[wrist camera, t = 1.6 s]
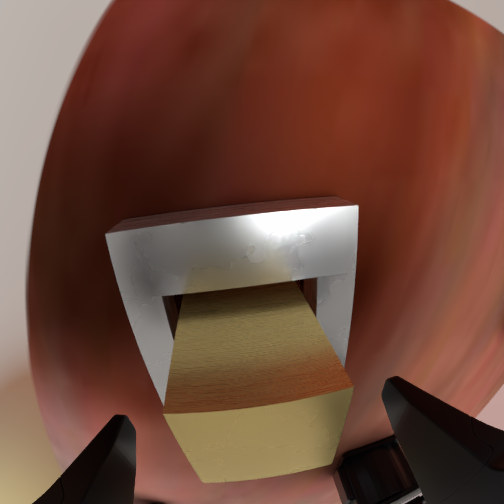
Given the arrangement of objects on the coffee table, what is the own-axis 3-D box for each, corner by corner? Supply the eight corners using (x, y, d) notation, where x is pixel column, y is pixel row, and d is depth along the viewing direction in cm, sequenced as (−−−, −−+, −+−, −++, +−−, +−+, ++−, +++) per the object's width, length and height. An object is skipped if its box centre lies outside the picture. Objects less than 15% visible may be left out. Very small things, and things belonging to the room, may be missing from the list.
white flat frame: (337, 195, 11) (359, 205, 9) (323, 402, 16) (333, 426, 14) (122, 219, 11) (103, 234, 9) (185, 420, 15) (183, 446, 13)
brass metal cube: (289, 271, 12) (354, 386, 6) (291, 350, 14) (331, 464, 8) (185, 283, 12) (163, 413, 6) (203, 361, 14) (202, 483, 7)
